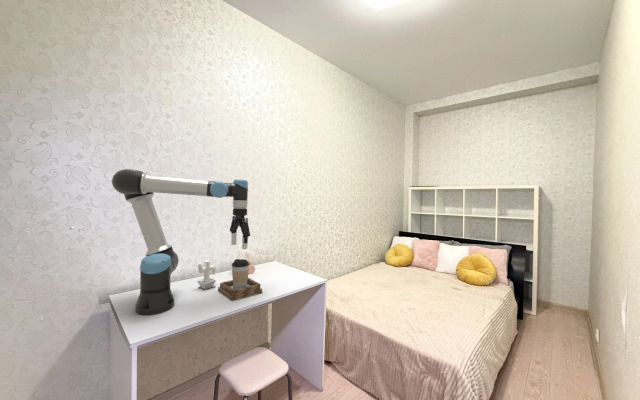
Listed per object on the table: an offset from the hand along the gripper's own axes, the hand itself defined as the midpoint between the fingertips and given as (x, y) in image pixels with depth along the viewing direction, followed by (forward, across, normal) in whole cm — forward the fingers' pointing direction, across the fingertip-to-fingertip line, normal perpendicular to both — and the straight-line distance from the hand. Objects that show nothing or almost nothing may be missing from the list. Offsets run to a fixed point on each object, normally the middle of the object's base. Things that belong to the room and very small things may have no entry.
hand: (239, 246), depth 143 cm
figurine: (+24, +14, +12) cm, 31 cm away
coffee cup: (+22, -3, 0) cm, 22 cm away
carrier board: (+24, -3, 0) cm, 24 cm away
